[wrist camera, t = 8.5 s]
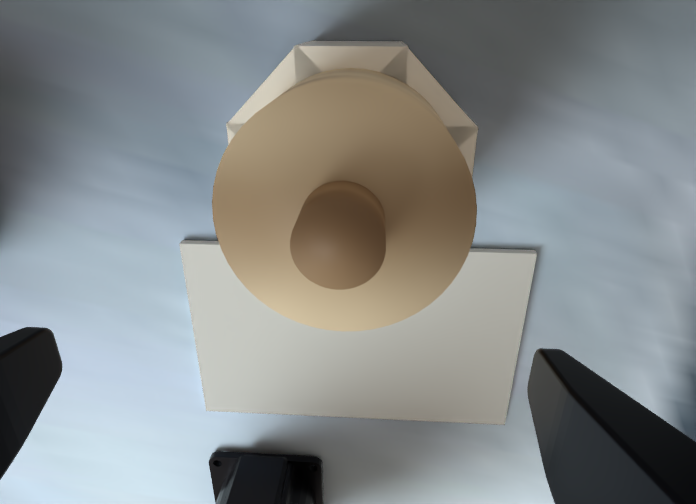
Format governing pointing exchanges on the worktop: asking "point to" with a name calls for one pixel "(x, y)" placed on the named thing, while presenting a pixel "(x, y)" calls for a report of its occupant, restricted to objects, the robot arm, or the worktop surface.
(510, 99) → the worktop surface
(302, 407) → the mat
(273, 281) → the lid
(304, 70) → the bowl
